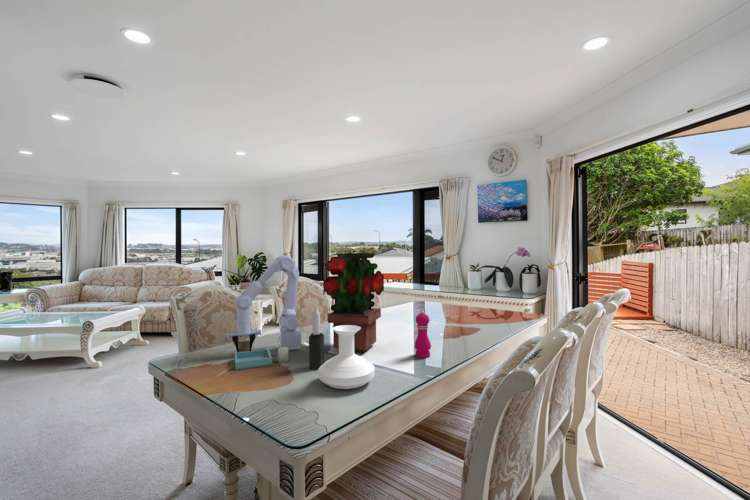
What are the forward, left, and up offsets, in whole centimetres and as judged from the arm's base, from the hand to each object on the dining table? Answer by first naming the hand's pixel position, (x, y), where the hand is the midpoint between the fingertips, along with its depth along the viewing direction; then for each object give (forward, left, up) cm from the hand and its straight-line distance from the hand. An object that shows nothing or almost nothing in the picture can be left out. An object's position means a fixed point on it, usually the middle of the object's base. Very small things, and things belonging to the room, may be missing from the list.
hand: (244, 352), depth 157 cm
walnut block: (0, 0, -1) cm, 1 cm away
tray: (-3, +12, -1) cm, 12 cm away
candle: (-26, +29, -2) cm, 39 cm away
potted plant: (-49, +11, -2) cm, 50 cm away
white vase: (-32, +49, -2) cm, 59 cm away
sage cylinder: (-15, +14, -2) cm, 21 cm away
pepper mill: (-72, +34, -2) cm, 80 cm away
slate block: (-11, +3, -2) cm, 12 cm away
